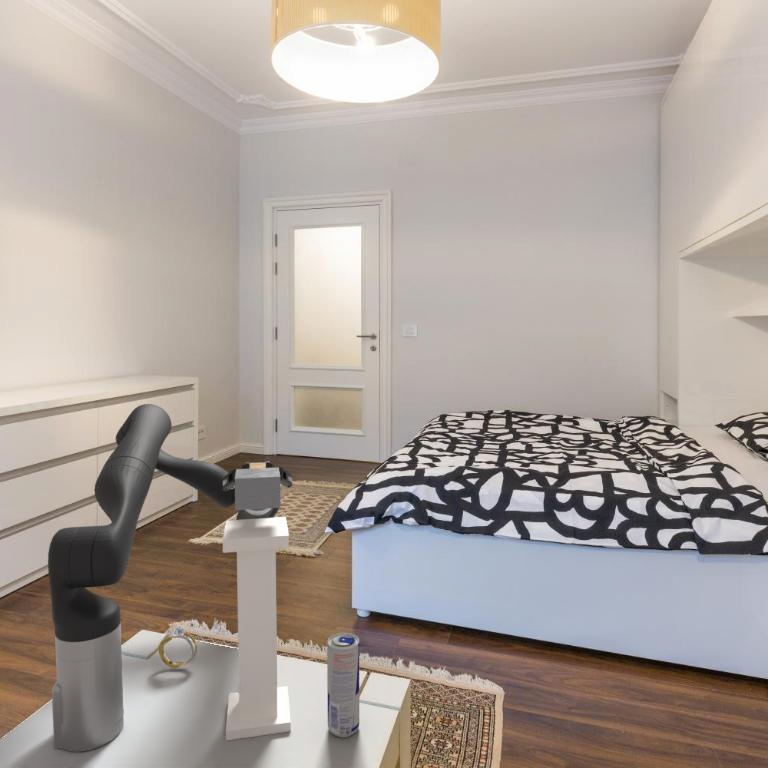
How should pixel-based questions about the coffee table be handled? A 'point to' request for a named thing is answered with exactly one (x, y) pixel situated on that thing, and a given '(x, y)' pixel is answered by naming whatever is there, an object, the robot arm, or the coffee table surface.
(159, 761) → the coffee table surface
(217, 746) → the coffee table surface
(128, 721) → the coffee table surface
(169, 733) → the coffee table surface
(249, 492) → the hammer
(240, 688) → the stand
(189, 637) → the ring
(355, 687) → the beverage can
